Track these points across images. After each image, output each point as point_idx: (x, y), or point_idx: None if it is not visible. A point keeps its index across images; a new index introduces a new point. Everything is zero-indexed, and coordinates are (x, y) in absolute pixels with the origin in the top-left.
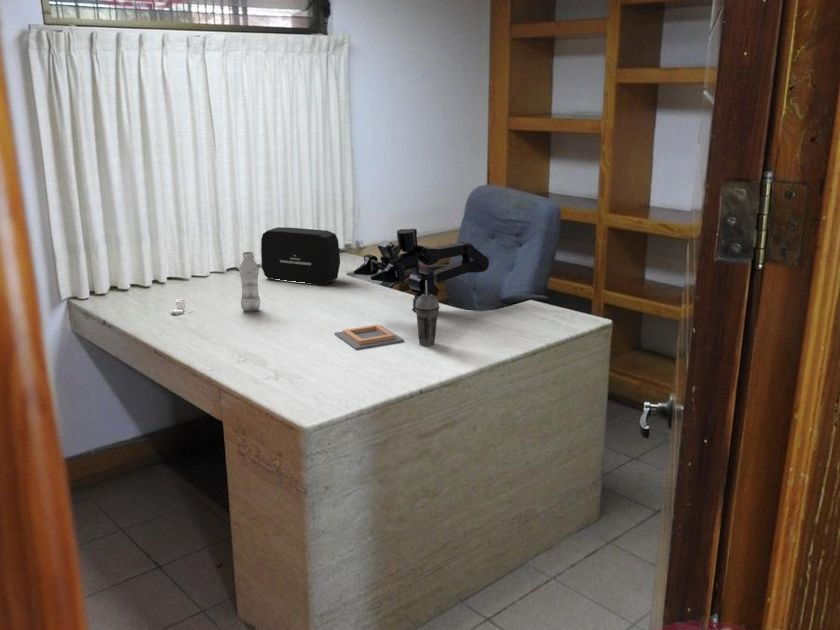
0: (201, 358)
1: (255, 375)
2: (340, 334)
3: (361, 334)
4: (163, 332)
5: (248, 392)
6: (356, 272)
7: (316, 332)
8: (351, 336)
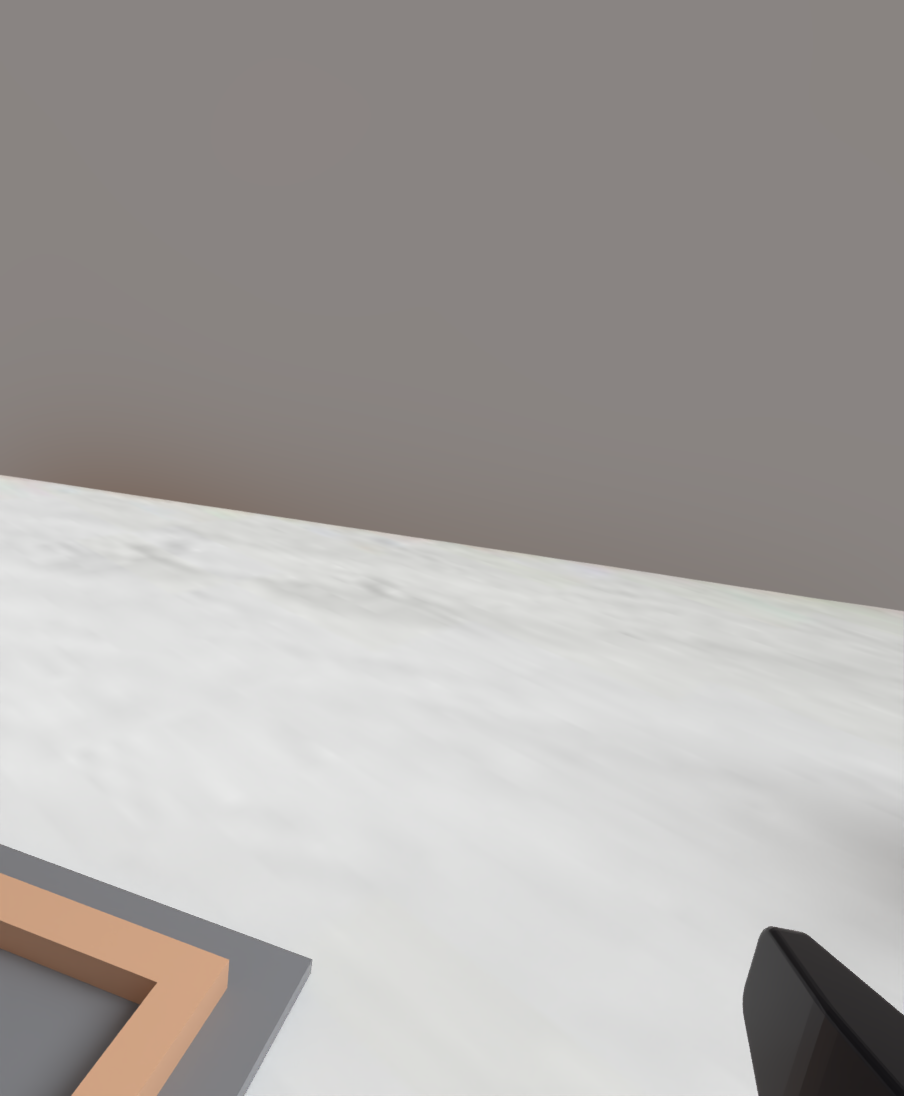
0: (499, 568)
1: (231, 547)
2: (231, 957)
3: (20, 1087)
4: (850, 633)
5: (154, 503)
6: (771, 1019)
7: (471, 928)
8: (54, 898)
